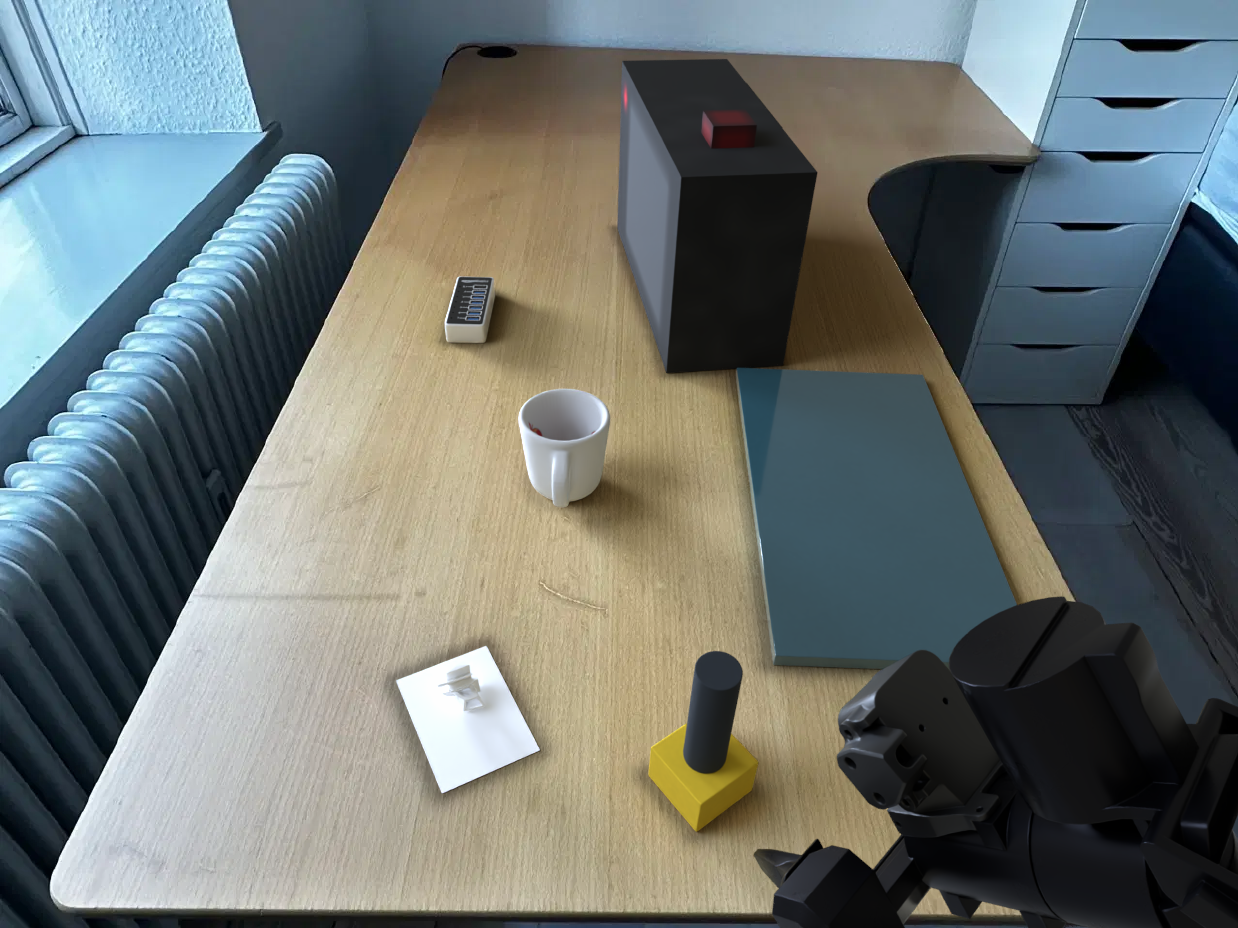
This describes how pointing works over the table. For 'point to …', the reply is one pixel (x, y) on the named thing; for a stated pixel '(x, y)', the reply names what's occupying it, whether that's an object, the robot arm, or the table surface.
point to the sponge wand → (706, 746)
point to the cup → (564, 443)
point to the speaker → (710, 213)
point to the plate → (862, 519)
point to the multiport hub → (470, 310)
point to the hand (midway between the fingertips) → (810, 802)
